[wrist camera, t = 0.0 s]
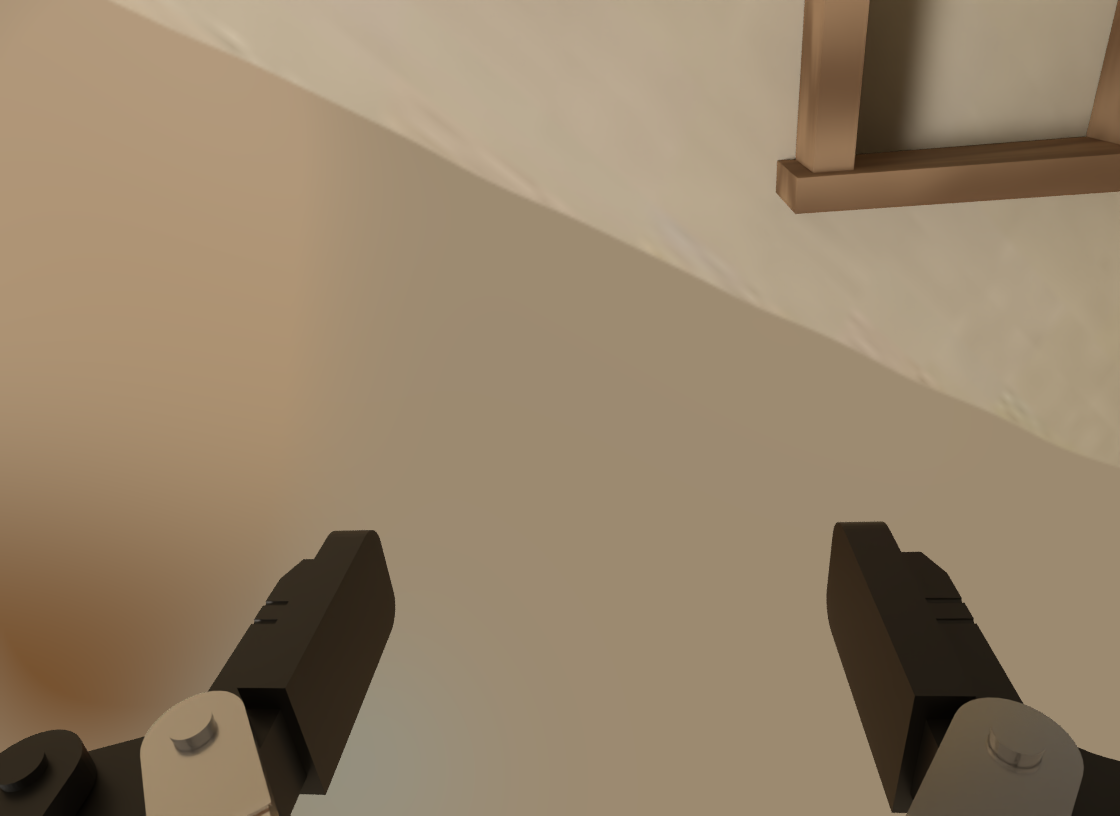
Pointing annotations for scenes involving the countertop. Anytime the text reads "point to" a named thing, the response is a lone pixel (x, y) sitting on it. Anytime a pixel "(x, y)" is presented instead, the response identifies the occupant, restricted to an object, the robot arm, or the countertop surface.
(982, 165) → the wooden u-shaped bracket
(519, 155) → the countertop surface
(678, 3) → the countertop surface
